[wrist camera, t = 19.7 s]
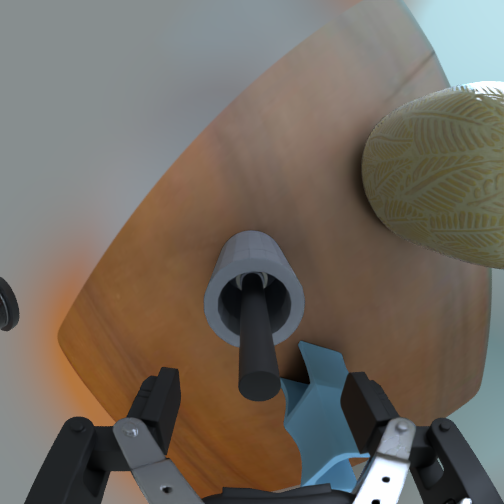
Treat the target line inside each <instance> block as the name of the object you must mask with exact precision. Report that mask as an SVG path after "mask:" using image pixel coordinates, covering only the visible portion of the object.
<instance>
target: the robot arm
mask: <svg viewBox="0 0 504 504" xmlns="http://www.w3.org/2000/svg"><path fill="white" fill-rule="evenodd" d="M8 322H9V310H8V306H7V303H6V301H5V299H4V297H3V295H2V293H1V292H0V329H1V328H2V327H5V326H6V325H7V324H8ZM180 401H181V390H180V381H179V371H178V369H175V368H167V367H162V368H161V370H160V372H159V374H158V377H157V376H150V377H148V378H147V379H146V380H145V381H143V383H142V385H141V387H140V390H139V392H138V394H137V396H136V398H135V400H134V402H133V404H132V406H131V409H130V411H129V413H128V415H127V417H126V418H123V419H121V420H119V421H117V422H116V423H115V425H114V426H108V427H107V426H105V427H104V426H94V425H93V423H92V422H91V421H90V420H89V419H87V418H84V417H73V418H70V419H68V420H67V421H66V422H65V423H64V425H63V427H62V429H61V430H60V433H59V434H58V436H57V438H56V440H55V441H54V443H53V446H52V447H51V449H50V451H49V453H48V455H47V457H46V459H45V461H44V463H43V465H42V467H41V469H40V471H39V473H38V475H37V477H36V479H35V481H34V483H33V485H32V487H31V489H30V492H29V494H28V496H27V498H26V501H25V503H24V504H101V501H102V498H103V495H104V491H105V488H106V485H107V481H108V478H109V475H110V472H111V471H131V473H132V475H133V477H134V479H135V481H136V482H137V484H138V486H139V488H140V490H141V491H142V493H143V495H144V496H145V498H146V500H147V501H148V503H149V504H397V501H398V499H399V496H400V493H401V491H402V488H403V485H404V482H405V479H406V476H407V473H408V470H409V469H410V472H411V474H412V476H413V479H414V481H415V483H416V485H417V488H418V490H419V493H420V495H421V498H422V500H423V503H424V504H504V503H503V501H502V499H501V497H500V496H499V494H498V492H497V490H496V488H495V487H494V485H493V483H492V482H491V480H490V478H489V476H488V475H487V473H486V472H485V470H484V468H483V467H482V465H481V463H480V462H479V460H478V458H477V457H476V455H475V454H474V452H473V451H472V449H471V448H470V446H469V444H468V443H467V441H466V440H465V438H464V437H463V435H462V434H461V432H460V431H459V429H458V428H457V426H456V425H455V424H454V422H452V421H451V420H449V419H446V418H438V419H435V420H434V421H433V422H432V424H431V426H415V425H414V423H413V422H412V421H410V420H409V419H407V418H403V417H400V416H399V415H398V413H397V411H396V410H395V408H394V407H393V405H392V403H391V402H390V400H389V399H388V397H387V395H386V394H385V392H384V391H383V389H382V388H381V386H380V385H379V384H377V383H376V382H375V381H373V380H371V381H370V380H369V379H368V377H367V376H366V374H365V372H353V373H348V375H347V377H346V381H345V384H344V387H343V391H342V394H341V398H340V405H341V409H342V411H343V413H344V416H345V418H346V421H347V423H348V426H349V428H350V431H351V433H352V436H353V438H354V440H355V443H356V445H357V448H358V451H359V453H360V454H365V453H369V455H370V457H369V459H368V461H367V463H366V465H365V467H364V469H363V471H362V473H361V475H360V477H359V479H358V481H357V483H356V485H355V486H354V488H353V490H352V491H351V493H349V492H346V491H342V490H336V489H331V485H330V483H325V484H317V485H309V486H303V487H300V488H296V489H293V490H289V491H285V492H282V493H273V492H268V491H262V490H257V489H251V488H228V487H223V492H222V493H221V494H215V495H210V496H207V497H204V498H202V499H201V498H200V497H199V496H198V495H197V494H196V492H195V491H194V490H193V489H192V487H191V486H190V485H189V483H188V482H187V481H186V480H185V478H184V477H183V476H182V474H181V473H180V471H179V470H178V469H177V467H176V466H175V465H174V463H173V462H172V461H171V459H170V458H166V457H165V455H167V451H168V448H169V444H170V440H171V436H172V432H173V429H174V425H175V421H176V417H177V414H178V410H179V406H180ZM438 458H439V459H440V461H441V463H442V465H443V468H444V471H443V470H442V468H441V466H440V464H439V462H438V460H437V459H438Z"/></svg>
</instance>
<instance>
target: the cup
mask: <svg viewBox="0 0 504 504" xmlns="http://www.w3.org/2000/svg"><path fill="white" fill-rule="evenodd" d="M247 272H264V273H267V276H268V282H267V285H266V287H265V288H264V292H265V298H266V303H267V309H268V314H269V320H270V325H271V331H272V337H273V342H274V346H275V345H277V344H278V343H280V342H282V341H284V340H286V339H287V338H288V337H289V336H290V335H291V334H292V333H293V332H294V331H295V330H296V329H297V327H298V325H299V323H300V321H301V319H302V317H303V314H304V307H305V298H304V293H303V288H302V286H301V284H300V282H299V280H298V279H297V277H296V275H295V273H294V272H293V270H292V268H291V266H290V265H289V263H288V261H287V259H286V258H285V256H284V254H283V252H282V251H281V249H280V248H279V246H278V244H277V243H276V242H275V241H274V240H273V239H272V238H271V237H270V236H269V235H267V234H265V233H263V232H259V231H254V230H249V231H243V232H240V233H237V234H235V235H234V236H232V237H231V238H230V239H229V240H228V241H227V242H226V243H225V245H224V246H223V248H222V250H221V253H220V255H219V258H218V260H217V263H216V266H215V268H214V271H213V273H212V276H211V279H210V281H209V284H208V287H207V289H206V292H205V295H204V313H205V315H206V318H207V321H208V324H209V325H210V327H211V328H212V329H213V331H214V332H215V333H216V334H217V335H218V336H219V337H220V338H221V339H223V340H224V341H226V342H227V343H229V344H230V345H233V346H236V347H239V348H240V319H241V290H240V289H239V287H238V286H237V283H236V276H238V275H239V274H243V273H247Z"/></svg>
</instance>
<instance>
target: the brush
mask: <svg viewBox="0 0 504 504" xmlns="http://www.w3.org/2000/svg"><path fill="white" fill-rule="evenodd" d="M267 282H268V276H267V273H264V272H247V273H243V274H239V275H238V276H236V283H237V286H238V287H239V289H240V290H241V319H240V349H239V382H238V388H239V391H240V393H241V394H242V395H243V396H244V397H245V398H247V399H249V400H252V401H266V400H269V399H271V398H273V397H274V396H276V395H277V393H278V392H279V390H280V388H281V381H280V376H279V370H278V364H277V359H276V353H275V348H274V342H273V337H272V331H271V325H270V320H269V314H268V309H267V303H266V298H265V292H264V288H265V287H266V285H267Z"/></svg>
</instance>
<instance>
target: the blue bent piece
mask: <svg viewBox="0 0 504 504" xmlns="http://www.w3.org/2000/svg"><path fill="white" fill-rule="evenodd" d="M298 346H299V349H300V351H301V354H302V356H303V359H304V361H305V364H306V367H307V370H308V374H309V379H310V385H308V384H304V383H300V382H296V381H292V380H288V379H284V378H281V377H280V381H281V388H282V390H283V392H284V395H285V398H286V411H285V418H284V428H285V429H286V430H287V431H288V433H289V434H290V435H291V436H292V438H293V439H294V441H295V442H296V444H297V446H298V448H299V451H300V453H301V459H302V478H301V487H303V486H309V485H317V484H325V483H330V485H331V489H336V490H342V491H346V492H351V491H352V490H353V488H354V486H355V485H356V483H357V480H356V478H355V475H354V473H353V470H352V468H351V465H350V463H349V460H348V458H351V457H370V455H369V453H365V454H360V453H359V451H358V448H357V445H356V443H355V440H354V438H353V436H352V433H351V431H350V428H349V426H348V423H347V421H346V418H345V416H344V413H343V411H342V409H341V405H340V398H341V394H342V391H343V387H344V384H345V381H346V377H347V375H348V373H349V372H348V371H347V369H346V366H345V364H344V360H343V356H342V354H341V353H339V352H337V351H333V350H330V349H327V348H323V347H320V346H316V345H313V344H310V343H307V342H303V341H300V342H299V344H298Z"/></svg>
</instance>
